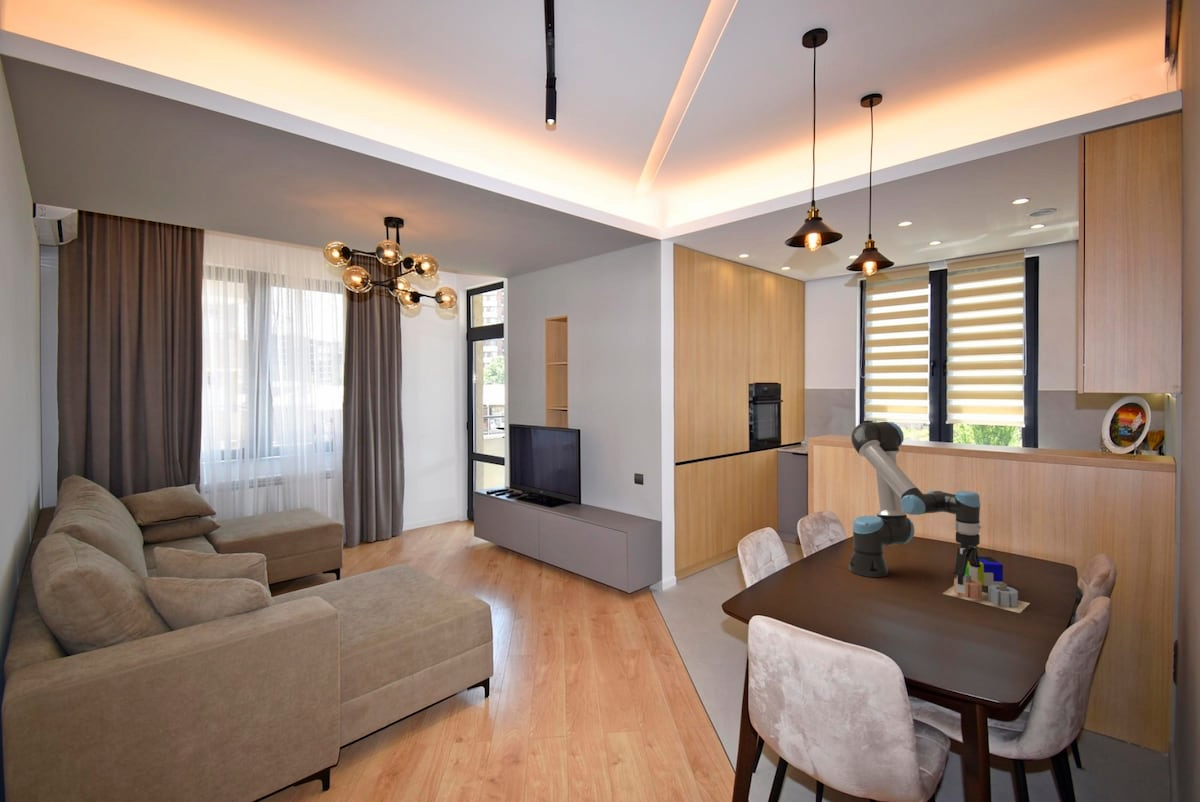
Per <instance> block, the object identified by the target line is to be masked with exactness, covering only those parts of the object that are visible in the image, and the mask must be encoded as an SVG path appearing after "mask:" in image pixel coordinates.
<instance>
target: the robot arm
mask: <svg viewBox="0 0 1200 802" xmlns="http://www.w3.org/2000/svg"><path fill="white" fill-rule="evenodd" d="M850 440H851V443H852V447H853V448H854V449H855V451H856V452H857V454H858V455H860V457H864V458H865V459H866V460H867V461H868V462H869V464H870V465H871V466H872V467H873V468H874V469H875V477H876V484H877V493H878V501H879V511H878V512H877V513H876V515H862V516H858V517H856V518H855V519H854V520H853V526H852V536H853V538H852V539H853V545H852V546H853V547H852V548H853V550H852V551H853V553H852V556H851V559H850V561H849V564H848V570H849V571H850V572H852V574H855V575H859V576H863V577H867V578H868V577H870V578H883V577H887V576H888V575H889V568H888V565H887V562H886V558H885V557H884V547H888V546H889V547H890V546H896V545H898V546H900V545H903V544H908V543H909V542H911V540H912V539H913V538H914V536H915V525H914V523H913V522H912V519H910V518H909V517H907V516H908V515H909V516H911V515H912V516H920V515H926V514H934V513H936V514H937V513H948V514H951V515H952V514H953V515H955V531H956V532H955V542H956V543H958V544H960V545H961V546H960V547H957V555H956V560H955V567H954V572H953V575H954V576H956V577H957V592H959V593H963V594H965V593H966V576H965V572H966V568H967V564H968V561H969V563H970V566H969V575H970V576H972V579H975V580H978V568H977V567H980V566H981V565H979V564H980V561H979V550H978V546H979V544H980V543H981V541H980V540H981V536H980V532H981V531H980V529H982V526H981V525H980V514H981V512H980V511H981V502H980V495H979V494H978V493H977V492H975V491H971V490H970V491H969V490H958V491H956V492H955V494H953V493H949V492H945V491H942V490H930V491H929V492H927V493H923V492H922V491H921V490H920V489H919V488H918V487H917V486H916V484H915V483H914V482H913V481H912V480H911V479H910V478H909V477H908V476H907V475H906V474H905V473H904V471H903V470H902V469H901V468H900V466H898V463H897V457H896V456H897V455H898V454H899V452H900V449H899V447H900V446H902V444H903V443H904V433H903V430H902V428H901V427H900V426H899V425H898V424H897V423H895V422H891V421H878V422H862V423H859V424H858V425H856V427H854V428H853V430H852V432H851V439H850Z"/></svg>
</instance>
